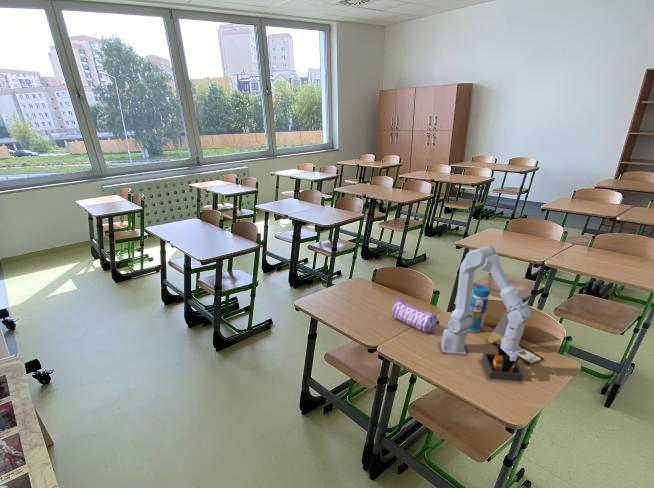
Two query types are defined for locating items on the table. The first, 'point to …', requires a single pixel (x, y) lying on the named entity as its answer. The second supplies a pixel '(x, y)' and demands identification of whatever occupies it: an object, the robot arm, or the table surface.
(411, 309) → the pencil case
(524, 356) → the chocolate bar
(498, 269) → the robot arm
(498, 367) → the snack box
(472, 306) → the beverage bottle
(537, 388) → the table surface
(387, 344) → the table surface
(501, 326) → the sandwich container
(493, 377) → the tray
